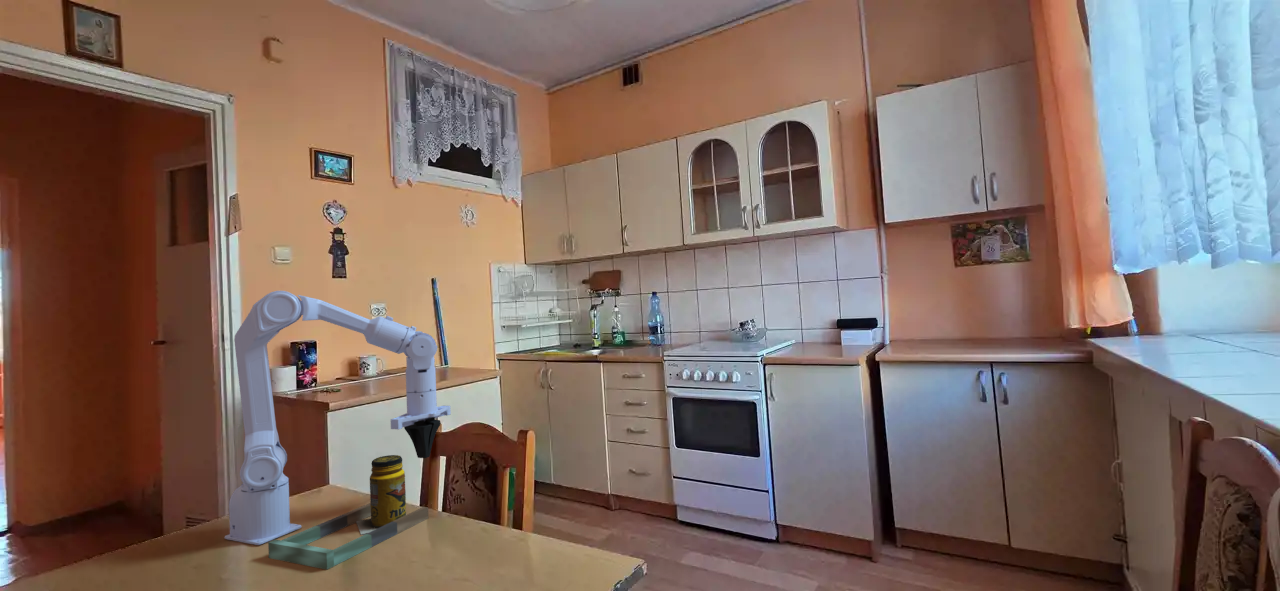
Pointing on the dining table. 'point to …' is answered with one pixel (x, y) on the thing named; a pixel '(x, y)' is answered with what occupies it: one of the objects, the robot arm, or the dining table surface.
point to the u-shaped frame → (324, 558)
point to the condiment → (385, 493)
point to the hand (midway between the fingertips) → (423, 457)
